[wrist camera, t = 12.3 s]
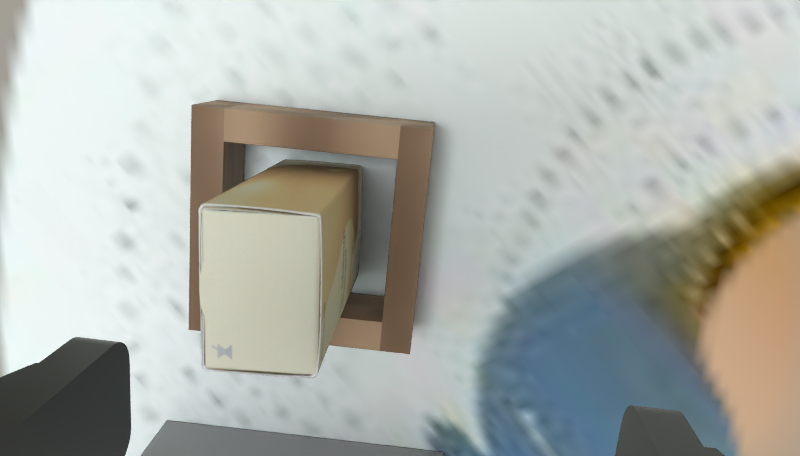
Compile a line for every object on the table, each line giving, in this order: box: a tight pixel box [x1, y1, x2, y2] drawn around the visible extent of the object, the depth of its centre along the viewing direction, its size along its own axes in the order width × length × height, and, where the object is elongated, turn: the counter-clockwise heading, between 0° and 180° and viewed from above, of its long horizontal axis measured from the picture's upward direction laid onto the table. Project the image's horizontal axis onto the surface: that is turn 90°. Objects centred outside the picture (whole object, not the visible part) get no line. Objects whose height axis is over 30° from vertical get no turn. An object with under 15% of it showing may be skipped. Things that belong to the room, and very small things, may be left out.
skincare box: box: [198, 160, 362, 377], centre depth 28 cm, size 6×4×12 cm
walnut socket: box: [189, 100, 434, 354], centre depth 32 cm, size 11×11×4 cm
